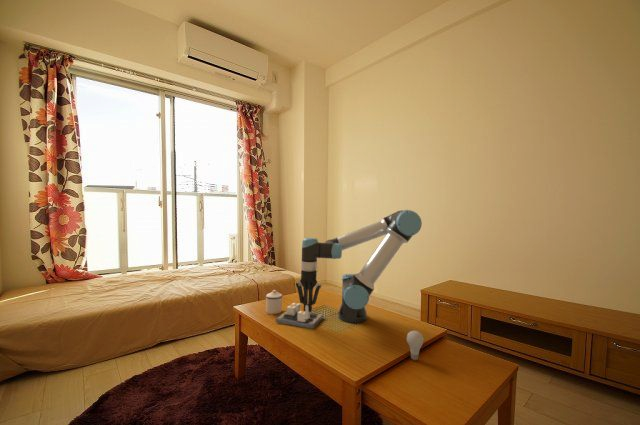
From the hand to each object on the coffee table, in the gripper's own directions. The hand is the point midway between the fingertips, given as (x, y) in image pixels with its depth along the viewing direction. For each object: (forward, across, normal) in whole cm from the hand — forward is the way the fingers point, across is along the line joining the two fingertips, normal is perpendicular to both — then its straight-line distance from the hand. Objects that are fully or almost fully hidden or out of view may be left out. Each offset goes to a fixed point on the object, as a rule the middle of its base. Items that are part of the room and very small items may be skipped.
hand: (307, 317), depth 136 cm
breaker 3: (+2, +3, 0) cm, 3 cm away
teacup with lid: (+4, +26, -12) cm, 29 cm away
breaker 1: (+2, +11, -5) cm, 12 cm away
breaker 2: (+2, +11, -10) cm, 15 cm away
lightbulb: (+4, -50, +14) cm, 52 cm away
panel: (+4, +6, -5) cm, 9 cm away
